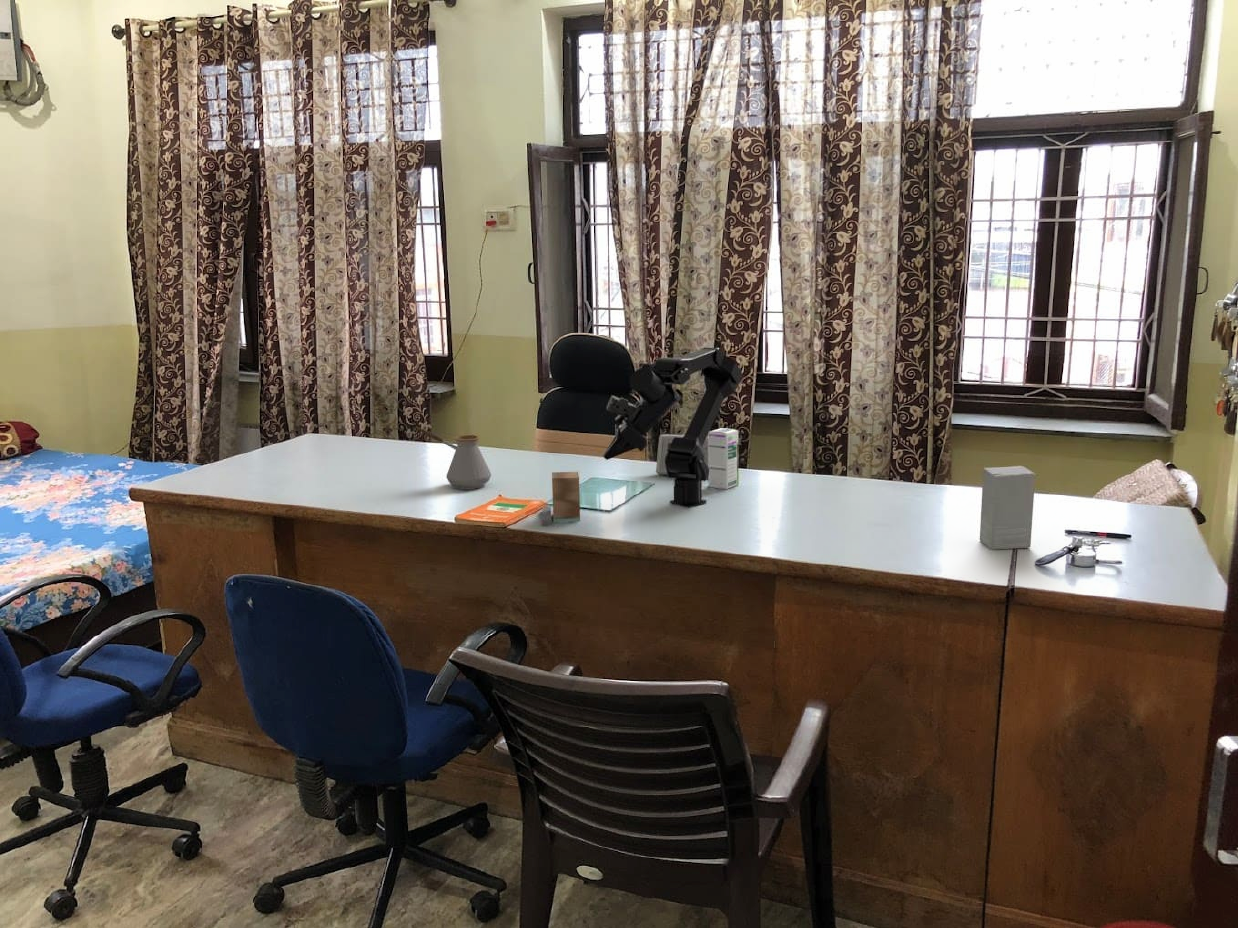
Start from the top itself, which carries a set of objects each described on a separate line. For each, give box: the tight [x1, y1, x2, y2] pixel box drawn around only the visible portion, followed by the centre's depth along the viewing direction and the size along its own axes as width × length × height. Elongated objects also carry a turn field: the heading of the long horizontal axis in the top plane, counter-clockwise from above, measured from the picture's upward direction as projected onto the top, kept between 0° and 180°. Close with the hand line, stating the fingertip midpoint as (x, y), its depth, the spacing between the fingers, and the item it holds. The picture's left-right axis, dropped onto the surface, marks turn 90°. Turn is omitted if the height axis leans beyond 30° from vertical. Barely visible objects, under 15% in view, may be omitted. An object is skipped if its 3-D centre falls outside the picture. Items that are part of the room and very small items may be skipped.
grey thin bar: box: [541, 505, 552, 527], centre depth 222 cm, size 2×12×1 cm, turn 4°
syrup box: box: [707, 427, 740, 490], centre depth 248 cm, size 6×6×14 cm
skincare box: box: [979, 465, 1037, 551], centre depth 196 cm, size 8×7×16 cm
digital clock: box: [655, 433, 708, 476], centre depth 262 cm, size 16×9×11 cm, turn 60°
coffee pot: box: [412, 426, 492, 490], centre depth 254 cm, size 21×12×15 cm, turn 69°
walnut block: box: [551, 471, 581, 523], centre depth 222 cm, size 6×6×10 cm
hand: (604, 457), depth 221 cm, fingers closed
